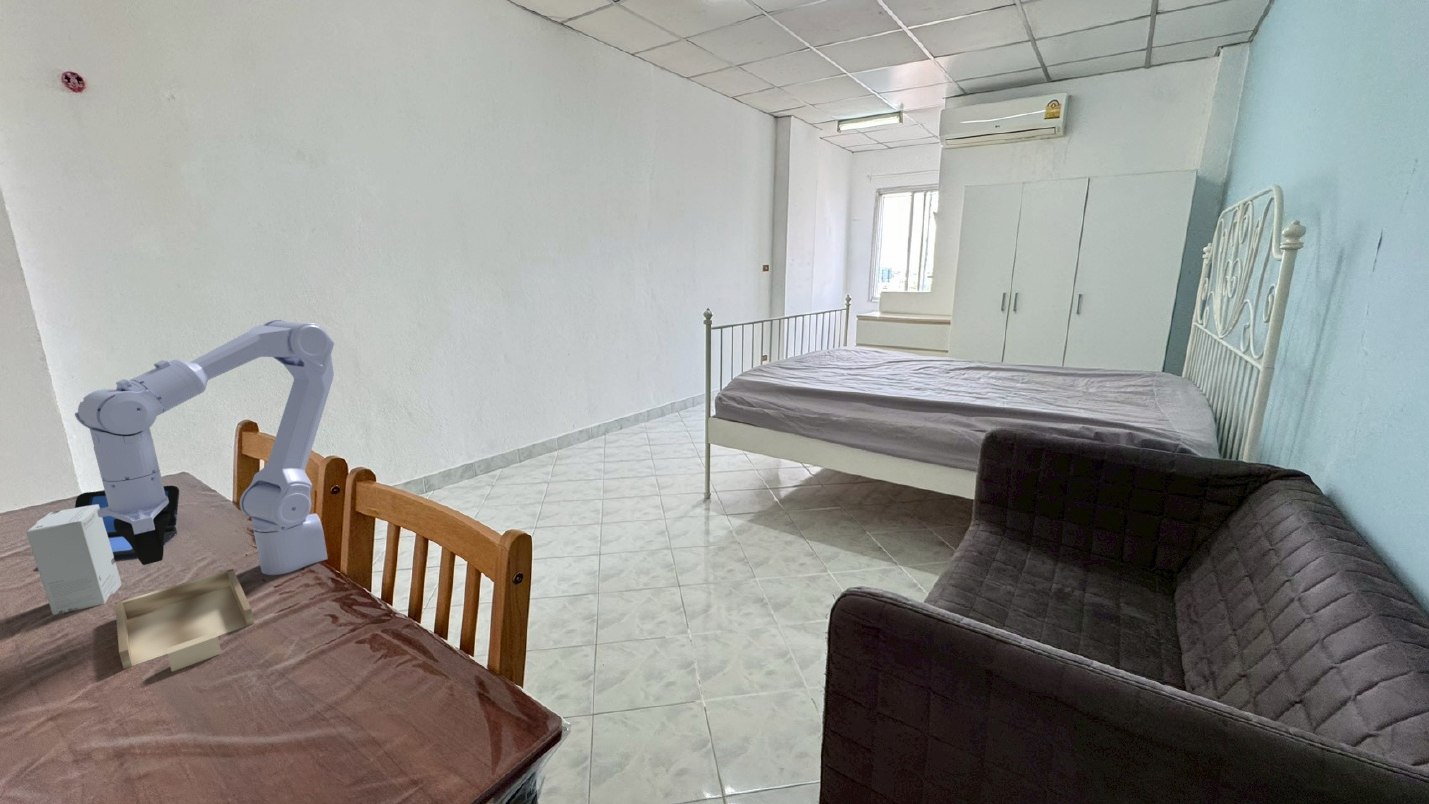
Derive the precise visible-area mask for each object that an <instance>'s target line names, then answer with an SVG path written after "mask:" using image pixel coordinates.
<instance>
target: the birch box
mask: <svg viewBox="0 0 1429 804" xmlns="http://www.w3.org/2000/svg"><path fill="white" fill-rule="evenodd" d="M114 607H115V620H116V631H117V641H118V643H117V645H118V654H119V657H120V661H121V664H122V669H123V670H125V669H128V668H131V667H134V666H136V665H139V664H143V663H145V662H146V663H147V662H148V661H151V660H154V659H157V658H160V657H162V656H165V655H168V654H167V648H169V647H172V646H175V645H178V644H181V643H184V642H187V641H190V640H193V639H196V638H199V637H202V636H205V635H207V634H210V633H213V632H217V635H218V637H219V636H223V635H225V634H229V633H230V632H231V633H232V632H234V631H237V630H239V629H242V628H246V627H248V626H251V625H254V624H255V621H254V617H253V616H254V615H253V611H252V608H251V605H250V603H249V601H248V598H247V596H246V594H245V592H244V590H243V588H242V585H241V583H240V581H239V578H238V576H237V574H236V572H235V570H234V568H231V569H227V570H224V571H221V572H216V573H213V574H210V575H206V576H203V577H200V578H197V579H193V580H189V581H186V582H182V583H180V584H176V585H172V586H168V587H165V588H162V589H157V590H155V591H151V592H149V593H145V594H141V595H138V596H133V597H130V598H127V599H123V600H120V601H117V602H114Z"/></svg>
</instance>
